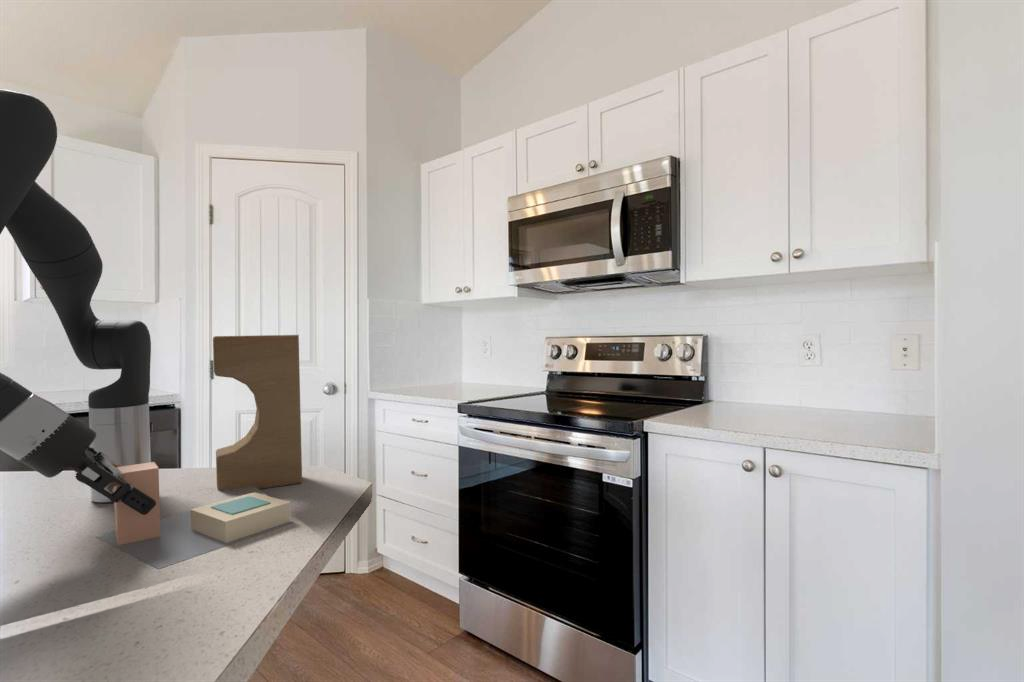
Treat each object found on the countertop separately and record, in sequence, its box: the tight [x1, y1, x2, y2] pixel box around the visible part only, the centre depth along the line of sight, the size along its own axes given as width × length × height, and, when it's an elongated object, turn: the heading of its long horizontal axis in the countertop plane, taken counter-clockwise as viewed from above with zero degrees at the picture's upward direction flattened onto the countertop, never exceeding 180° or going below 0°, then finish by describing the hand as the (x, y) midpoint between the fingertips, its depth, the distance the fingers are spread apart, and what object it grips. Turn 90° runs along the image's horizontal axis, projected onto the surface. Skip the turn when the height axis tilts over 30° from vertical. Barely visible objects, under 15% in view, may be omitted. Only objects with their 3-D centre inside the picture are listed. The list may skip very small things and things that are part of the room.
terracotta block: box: [113, 461, 161, 545], centre depth 78 cm, size 5×5×10 cm
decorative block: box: [212, 334, 303, 491], centre depth 107 cm, size 15×8×30 cm, turn 120°
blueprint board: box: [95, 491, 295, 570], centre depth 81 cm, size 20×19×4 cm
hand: (147, 501), depth 79 cm, fingers open, 8 cm apart
